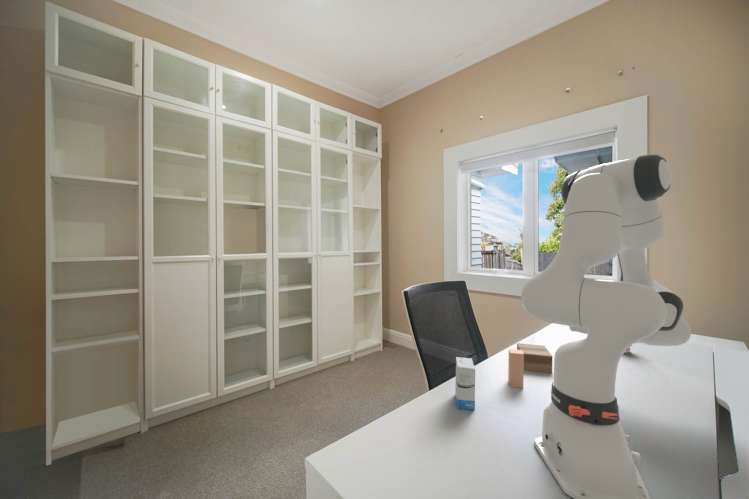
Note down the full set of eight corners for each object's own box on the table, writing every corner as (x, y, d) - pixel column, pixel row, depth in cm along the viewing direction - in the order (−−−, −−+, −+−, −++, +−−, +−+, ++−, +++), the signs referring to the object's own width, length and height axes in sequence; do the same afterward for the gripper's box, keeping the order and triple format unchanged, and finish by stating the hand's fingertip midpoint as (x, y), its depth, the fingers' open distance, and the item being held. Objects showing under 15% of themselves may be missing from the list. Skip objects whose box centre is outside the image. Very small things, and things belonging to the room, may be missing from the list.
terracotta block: (523, 388, 98) (523, 354, 97) (509, 386, 99) (510, 352, 99) (521, 382, 101) (521, 350, 101) (508, 380, 103) (508, 348, 102)
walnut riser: (552, 372, 109) (552, 356, 109) (521, 369, 112) (522, 353, 112) (544, 360, 121) (544, 345, 121) (516, 357, 124) (517, 343, 124)
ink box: (475, 410, 84) (475, 368, 84) (456, 408, 85) (457, 367, 85) (471, 395, 92) (472, 357, 92) (455, 394, 93) (455, 356, 93)
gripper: (602, 309, 101) (556, 306, 105) (635, 325, 82) (576, 321, 86) (602, 328, 101) (555, 324, 106) (634, 348, 82) (575, 343, 86)
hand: (565, 323), depth 96 cm, fingers open, 8 cm apart
